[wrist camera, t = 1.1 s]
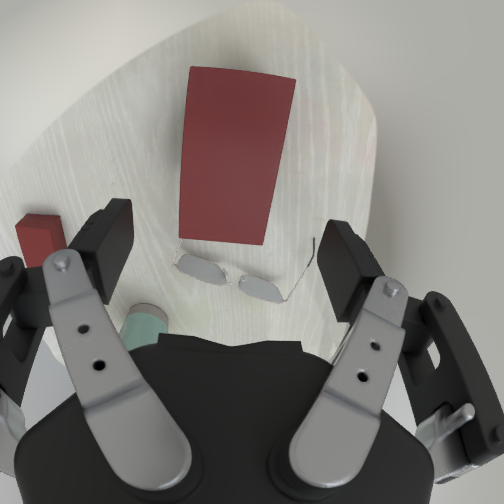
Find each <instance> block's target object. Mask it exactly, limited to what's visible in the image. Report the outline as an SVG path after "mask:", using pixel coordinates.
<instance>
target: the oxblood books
mask: <svg viewBox="0 0 504 504" xmlns="http://www.w3.org/2000/svg"><path fill="white" fill-rule="evenodd" d="M15 228H16V232H17V236H18V239H19V243H20V246H21V249H22V253H23V256H24V259H25V262H26V265H27V268H30V267H37V266H43V262H44V261H45V259H46V258H47V257H48V256H49V255H50V254H52V253H54V252H56V251H58V250H62V249H67V246H66V242H65V237H64V233H63V228H62V224H61V219H60V216H53V215H34V214H26V215H25V216H24V218H23V219H21V220H20V221H19V222H18V223H17V224H16V225H15Z"/></svg>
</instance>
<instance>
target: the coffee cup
mask: <svg viewBox="0 0 504 504" xmlns="http://www.w3.org/2000/svg"><path fill="white" fill-rule="evenodd" d="M159 333H167V334H168V318H167V315H166V314H165V313H164V312H163V311H162V310H161V309H159V308H158V307H156V306H153V305H150V304H137V305H135V306H133V307H132V308H131V309H130V311H129V313H128V315H127V317H126V319H125V321H124V324H123V326H122V328H121V330H120V332H119V336H120V338H121V340H122V342H123V344H124V345H125V347H126V349H127V351H130V350H132V349H135V348H137V347H140V346H143V345H147V344H153V343H157V340H158V335H159Z"/></svg>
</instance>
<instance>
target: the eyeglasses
mask: <svg viewBox="0 0 504 504" xmlns="http://www.w3.org/2000/svg"><path fill="white" fill-rule="evenodd" d="M182 240H183V238H182V239H181V241H180V244H179V246H178V249H177V251H176V254H175V256H174V259H173V262H172V265H173V266H174V267H176V268H177V269H178V270H179V271H180V272H181V273H183V274H186V275H188V276H190V277H192V278H195V279H198V280H201V281H204V282H207V283H210V284H214V285H225V284H230V285H233V286H236V287H239V288H240V290H241V291H242V292H244V293H245V294H247V295H249V296H252V297H254V298H257V299H260V300H264V301H267V302H271V303H277V304H282V303H283V302H287V301H288V300H289V298H290V297H291V295H292V293H293V292H294V290H295V288H296V287H297V285H298V283H299V282H300V280H301V278H302V276H303V275H304V273H305V271H306V270H307V268H308V267H309V265H310V263H311V261H312V259H313V257H314V252H315V238H313V256H312V258H311V260H310V262H309V264H308V265H307V268H306V269H305V271H304V273H303V274H302V276H301V277H300V279H299V281H298V282H297V284H296V285H295V287H294V289H293V290H292V292H291V293H290V295H289V296H288V298H287V299H286V300H283V298H282V295H281V293H280V292H279V290H278V288H277V287H276V286H275V285H274V284H273V283H271V282H269V281H266V280H264V279H261V278H258V277H254V276H250V275H242V276H241V277H240V281H239V286H237V285H234V284H231V283H228V282H226V276H227V277H228V274H227V272H226V270H225V269H224V268H223V270H224V272H223V271H222V269H221V268H220V267H219V266H218V265H217V264H215V263H212V262H210V261H208V260H205V259H202V258H200V257H196V256H193V255H189V254H185V255H183V256H182V257H181V258H180V260H179V261H178V263H177V265H176V264H174V261H175V258H176V255H177V253H178V250H179V247H180V245H181V242H182Z"/></svg>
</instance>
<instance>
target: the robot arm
mask: <svg viewBox="0 0 504 504" xmlns="http://www.w3.org/2000/svg"><path fill="white" fill-rule="evenodd" d="M133 242H134V226H133V212H132V202H131V200H130V199H120V198H113V199H111V201H110V202H109V203H108V205H107V206H106V207H105V209H104V210H102V209H100V210H98V211H97V212H95V213H94V214H92V215H91V216H90V217H89V218H88V220H87V221H86V222H85V224H84V225H83V226H82V228H81V231H79V232H78V233H77V235H76V236H75V238H74V239H73V240H72V242H71V243H70V245H69V246H68V248H67V249H62V250H58V251H56V252H54V253H52V254H50V255H49V256H48V257H47V258H46V259H45V261H44V262H43V266H37V267H30V268H25V266H24V263H23V260H22V259H21V258H20V257H18V256H10V257H7V258H4V259H2V260H1V261H0V472H3V473H5V474H7V475H9V476H12V477H14V478H16V481H17V484H18V487H19V490H20V493H21V496H22V500H23V504H429V501H430V496H431V491H432V487H433V483H436V484H443V483H446V482H448V481H451V480H453V479H455V478H458V477H460V476H462V475H464V474H466V473H468V472H470V471H472V470H474V469H476V468H478V467H480V466H482V465H483V464H485V463H488V462H490V461H491V460H493V459H495V458H497V457H498V456H500V455H502V454H503V453H504V413H503V411H502V408H501V405H500V402H499V400H498V397H497V395H496V392H495V390H494V387H493V385H492V382H491V380H490V378H489V375H488V373H487V371H486V368H485V366H484V364H483V362H482V360H481V358H480V356H479V353H478V351H477V349H476V347H475V345H474V343H473V342H472V339H471V338H470V336H469V334H468V332H467V330H466V328H465V326H464V324H463V322H462V320H461V319H460V317H459V315H458V313H457V312H456V310H455V308H454V306H453V305H452V303H451V302H450V300H449V299H448V298H446V297H445V296H444V295H442V294H440V293H438V292H434V291H431V292H429V293H427V295H426V296H425V298H424V299H423V301H422V300H419V299H415V298H413V297H409V296H408V292H407V290H406V288H405V287H404V286H403V285H402V284H401V283H400V282H399V281H397V280H396V279H394V278H391V277H388V276H385V274H384V272H383V271H382V269H381V267H380V265H379V264H378V262H377V260H376V259H375V258H374V255H373V254H372V252H371V251H370V249H369V247H368V245H367V244H366V242H365V241H364V240H363V239H361V238H360V237H359V236H358V235H357V234H355V233H354V232H353V230H352V228H351V227H350V225H349V223H348V222H346V221H339V220H332V219H330V220H329V221H328V222H327V225H326V228H325V231H324V234H323V237H322V240H321V243H320V246H319V249H318V253H317V264H318V267H319V270H320V272H321V275H322V278H323V281H324V284H325V286H326V289H327V292H328V295H329V298H330V301H331V304H332V307H333V310H334V313H335V316H336V319H337V322H349V324H350V327H349V328H348V330H347V332H346V334H345V336H344V337H343V339H342V341H341V343H340V345H339V347H338V349H337V350H336V352H335V354H334V356H333V358H332V360H331V362H330V363H328V362H327V361H325V360H324V359H322V358H320V357H317V356H315V355H313V354H310V353H307V352H303V350H302V345H301V341H262V342H257V343H251V344H245V345H239V346H226V345H223V344H219V343H216V342H212V341H209V340H205V339H202V338H198V337H195V336H187V335H176V334H167V333H159V335H158V340H157V343H153V344H147V345H143V346H140V347H137V348H135V349H132V350H130V351H127V349H126V347H125V345H124V344H123V342H122V340H121V338H120V336H119V334H118V332H117V331H116V329H115V327H114V325H113V323H112V321H111V319H110V317H109V315H108V313H107V311H106V309H105V307H104V304H105V305H108V304H109V302H110V299H111V297H112V294H113V292H114V289H115V287H116V284H117V282H118V279H119V277H120V274H121V272H122V270H123V267H124V265H125V263H126V260H127V258H128V256H129V253H130V251H131V249H132V246H133ZM9 314H10V315H11V317H12V318H13V319H12V321H11V323H10V325H9V327H8V330H7V332H6V334H5V336H4V338H3V326H4V324H5V322H6V319H7V318H8V315H9ZM50 326H53V327H54V331H55V334H56V337H57V341H58V344H59V347H60V350H61V353H62V356H63V359H64V362H65V365H66V367H67V370H68V373H69V375H70V378H71V381H72V383H73V386H74V388H75V391H76V392H75V393H74V394H73V395H71V396H70V397H69V398H68V399H66V400H65V401H64V402H63V403H61V404H60V405H59V406H58V407H56V408H55V409H54V410H53V411H52V412H50V413H49V414H48V415H46V416H45V417H44V418H43V419H41V420H40V421H39V422H38V423H37V424H35V425H34V426H33V427H32V428H30V429H29V430H28V431H27V429H26V427H25V418H24V414H23V412H22V410H21V409H20V407H21V403H22V399H23V395H24V392H25V388H26V384H27V381H28V378H29V374H30V371H31V368H32V365H33V362H34V359H35V356H36V353H37V350H38V347H39V345H40V342H41V339H42V336H43V334H44V331H45V329H46V327H50ZM433 341H434V342H435V344H436V347H437V349H438V351H439V354H440V363H439V366H438V367H437V368H436V370H435V367H434V365H433V363H432V360H431V357H430V355H429V353H428V350H427V348H428V347H429V346H430V345H431V343H432V342H433ZM397 362H398V365H399V368H400V371H401V374H402V378H403V381H404V384H405V387H406V390H407V394H408V397H409V400H410V404H411V407H412V411H413V414H414V418H415V422H416V426H417V430H416V433H415V437H414V436H413V435H412V434H411V433H410V432H409V431H407V430H406V429H405V428H404V427H403V426H401V425H400V424H399V423H398V422H397V421H396V420H394V419H393V418H392V417H391V416H390V415H389V414H388V413H386V412H385V411H384V410H383V409H382V407H383V404H384V401H385V399H386V396H387V393H388V390H389V387H390V384H391V381H392V378H393V375H394V371H395V369H396V365H397Z"/></svg>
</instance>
